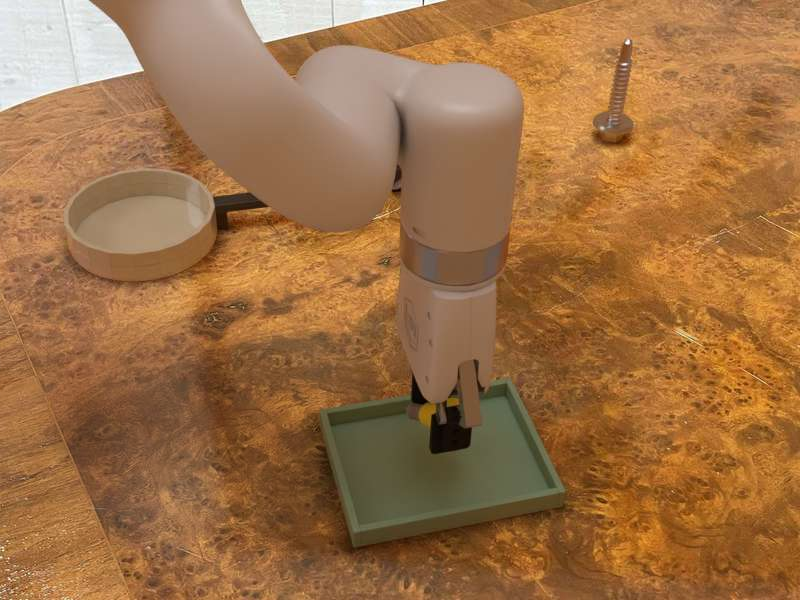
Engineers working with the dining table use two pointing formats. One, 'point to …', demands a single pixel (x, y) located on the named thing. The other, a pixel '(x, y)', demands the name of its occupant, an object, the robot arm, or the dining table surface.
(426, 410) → the light bulb
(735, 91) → the dining table surface
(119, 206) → the pan
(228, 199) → the pan handle
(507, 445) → the tray
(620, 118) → the screw
